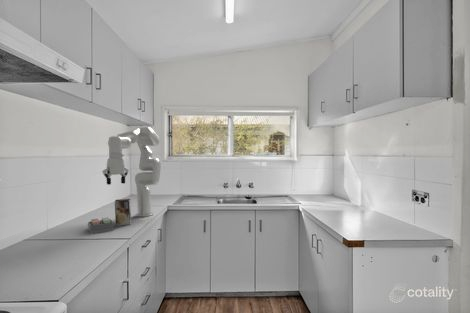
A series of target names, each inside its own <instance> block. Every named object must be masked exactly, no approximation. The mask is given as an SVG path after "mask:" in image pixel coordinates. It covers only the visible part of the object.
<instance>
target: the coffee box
mask: <svg viewBox="0 0 470 313" xmlns="http://www.w3.org/2000/svg"><path fill="white" fill-rule="evenodd" d="M131 211H132V210H131V198H124V199H123V198H122V199H115V200H114V212H115V217H114V218H115V226H116V227H118V226H119V227H120V226H129V225H130V226H131V224H132V213H131Z"/></svg>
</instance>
